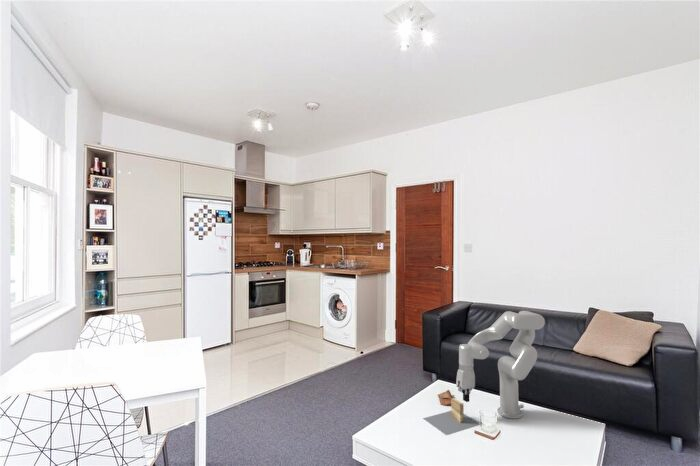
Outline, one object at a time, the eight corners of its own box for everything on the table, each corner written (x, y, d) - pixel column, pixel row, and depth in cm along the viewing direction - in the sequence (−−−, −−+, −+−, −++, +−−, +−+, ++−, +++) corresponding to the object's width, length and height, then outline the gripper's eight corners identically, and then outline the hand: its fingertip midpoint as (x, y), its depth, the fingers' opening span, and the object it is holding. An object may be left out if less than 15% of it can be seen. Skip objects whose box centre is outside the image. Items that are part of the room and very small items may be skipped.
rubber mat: (456, 410, 203) (456, 409, 203) (481, 425, 186) (481, 424, 186) (422, 419, 192) (422, 418, 192) (446, 436, 175) (446, 435, 175)
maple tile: (454, 416, 195) (454, 398, 195) (463, 421, 188) (463, 403, 189) (451, 417, 193) (450, 398, 194) (460, 423, 187) (460, 404, 188)
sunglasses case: (436, 394, 225) (441, 385, 224) (446, 400, 224) (451, 391, 224) (440, 407, 207) (446, 397, 207) (451, 413, 206) (456, 404, 206)
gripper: (471, 363, 201) (471, 395, 201) (450, 367, 195) (451, 400, 194) (481, 367, 195) (481, 401, 194) (460, 371, 188) (460, 406, 187)
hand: (466, 400), depth 194 cm, fingers closed
